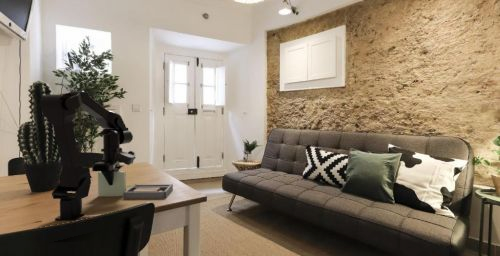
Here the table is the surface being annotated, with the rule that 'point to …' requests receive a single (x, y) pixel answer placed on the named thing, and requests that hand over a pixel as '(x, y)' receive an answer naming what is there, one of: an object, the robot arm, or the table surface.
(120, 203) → the table surface
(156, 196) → the rack
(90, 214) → the table surface
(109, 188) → the board
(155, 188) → the offcut top
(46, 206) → the table surface
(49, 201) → the table surface
